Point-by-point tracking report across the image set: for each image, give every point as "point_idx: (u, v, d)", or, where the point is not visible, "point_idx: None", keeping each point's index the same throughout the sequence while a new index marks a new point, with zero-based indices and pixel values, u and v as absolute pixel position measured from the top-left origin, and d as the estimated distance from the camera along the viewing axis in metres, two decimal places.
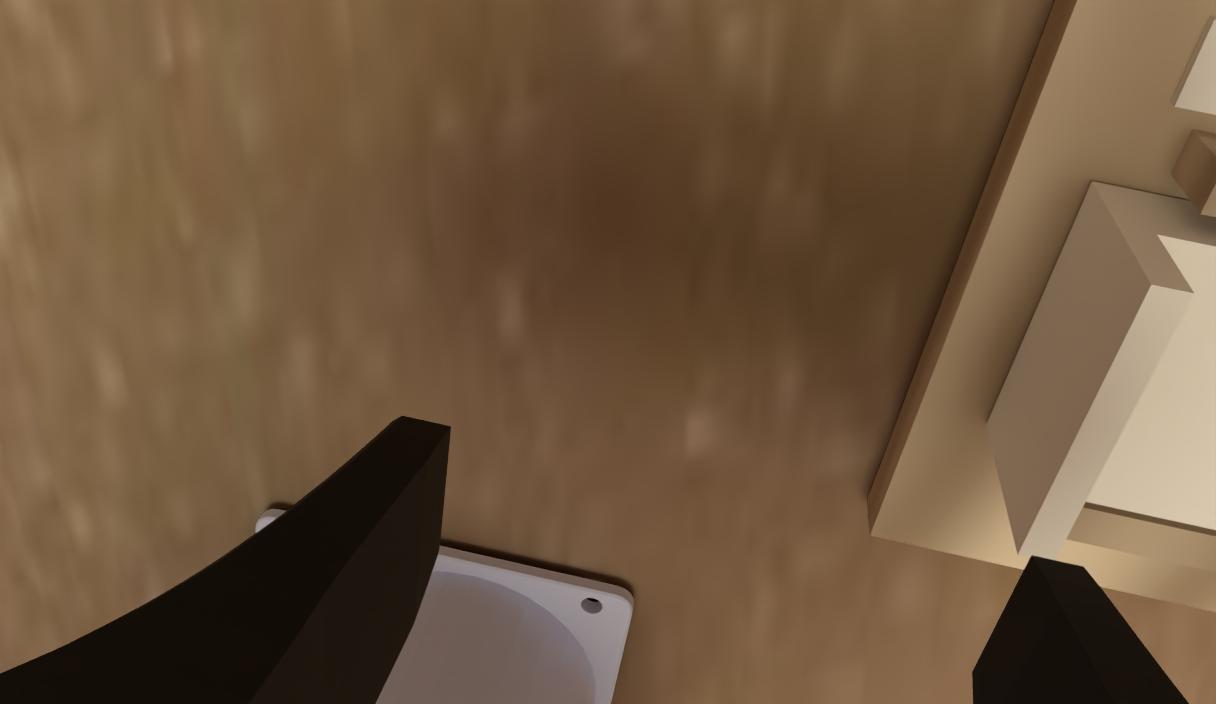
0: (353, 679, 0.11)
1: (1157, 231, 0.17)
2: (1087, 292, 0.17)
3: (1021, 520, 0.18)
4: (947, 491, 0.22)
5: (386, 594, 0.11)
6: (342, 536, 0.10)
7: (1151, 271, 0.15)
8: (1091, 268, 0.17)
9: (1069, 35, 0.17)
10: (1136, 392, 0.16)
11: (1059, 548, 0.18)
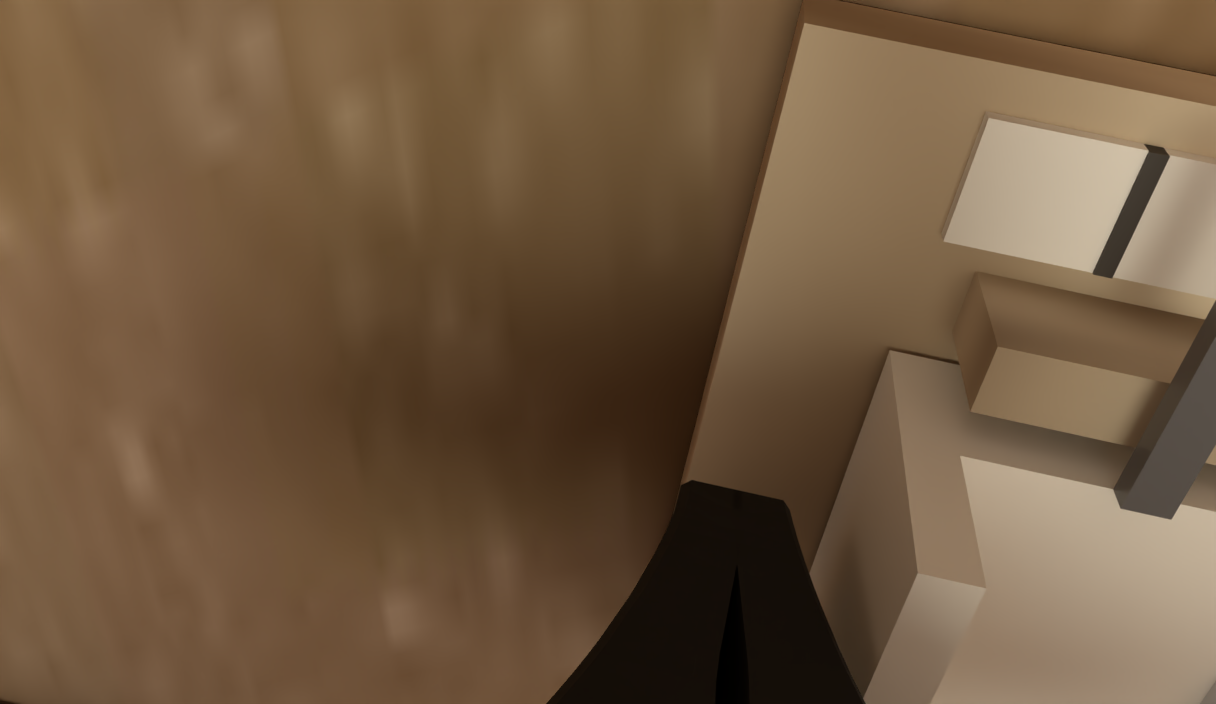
0: None
1: (962, 447, 0.11)
2: (867, 528, 0.12)
3: None
4: None
5: None
6: (703, 618, 0.10)
7: (925, 540, 0.10)
8: (874, 491, 0.12)
9: (784, 135, 0.11)
10: None
11: None
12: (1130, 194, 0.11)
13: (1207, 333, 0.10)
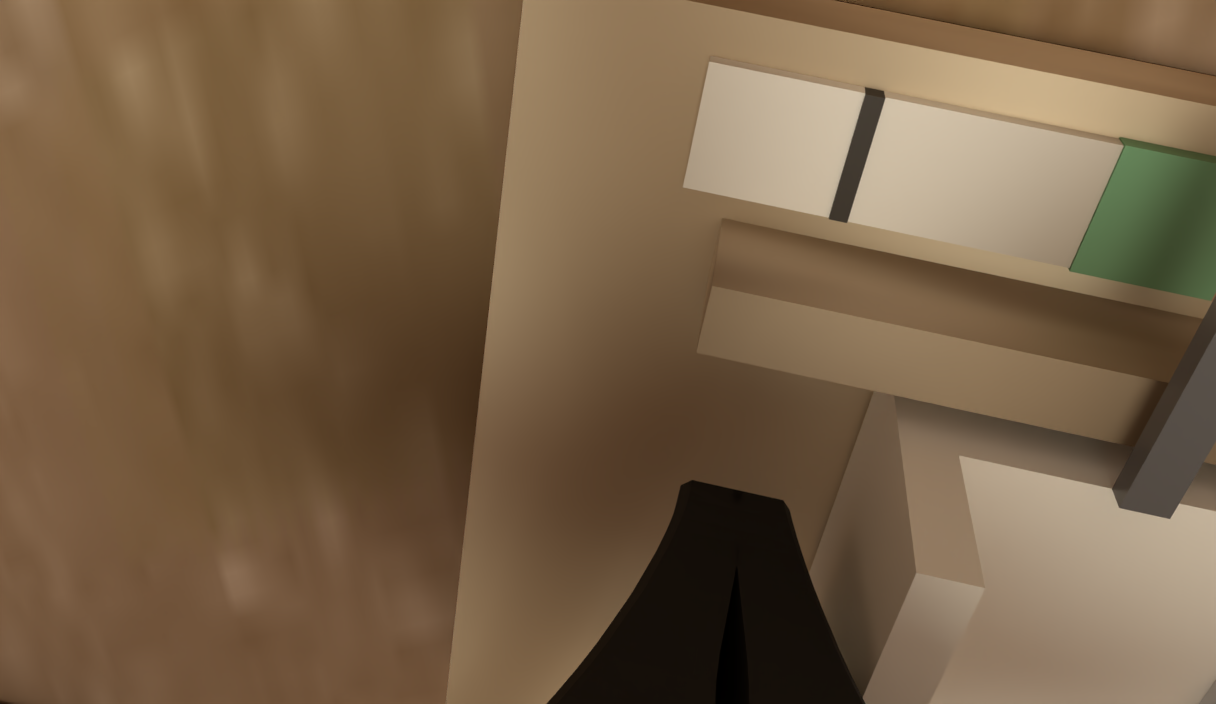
0: None
1: (961, 447, 0.11)
2: (867, 528, 0.12)
3: None
4: (523, 677, 0.17)
5: None
6: (703, 618, 0.10)
7: (923, 540, 0.10)
8: (873, 491, 0.12)
9: (523, 82, 0.12)
10: None
11: None
12: (853, 137, 0.11)
13: (1205, 333, 0.10)
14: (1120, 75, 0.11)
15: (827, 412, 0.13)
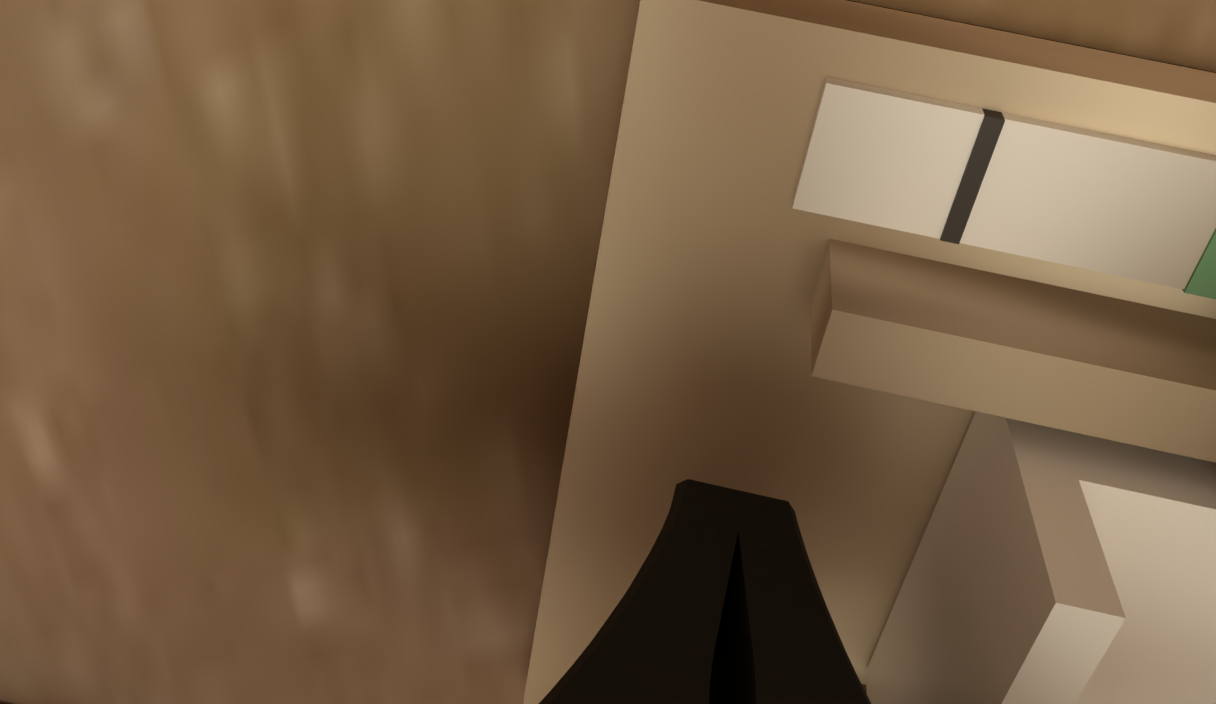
0: None
1: (1079, 472, 0.11)
2: (979, 551, 0.11)
3: None
4: None
5: None
6: (698, 617, 0.10)
7: (1058, 569, 0.10)
8: (985, 515, 0.12)
9: (632, 103, 0.11)
10: None
11: None
12: (970, 159, 0.11)
13: None
14: None
15: (926, 432, 0.13)
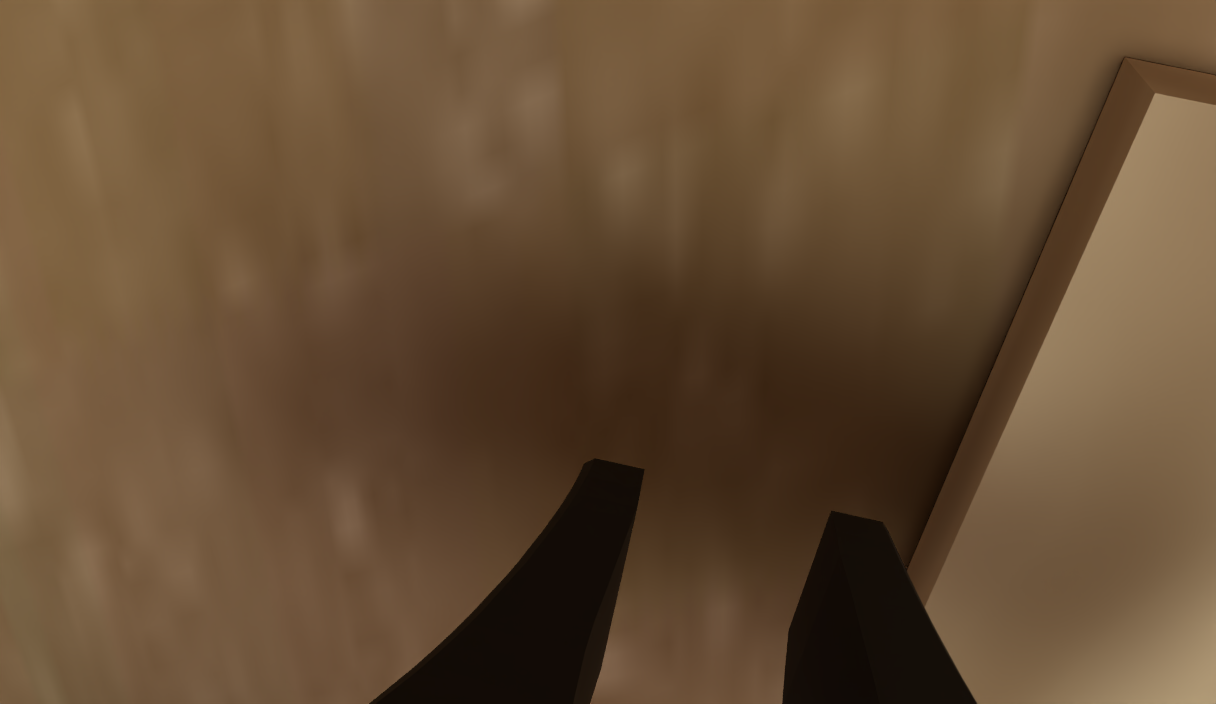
0: None
1: None
2: None
3: None
4: None
5: (599, 643, 0.11)
6: (582, 591, 0.10)
7: None
8: None
9: (1114, 203, 0.11)
10: None
11: None
12: None
13: None
14: None
15: None
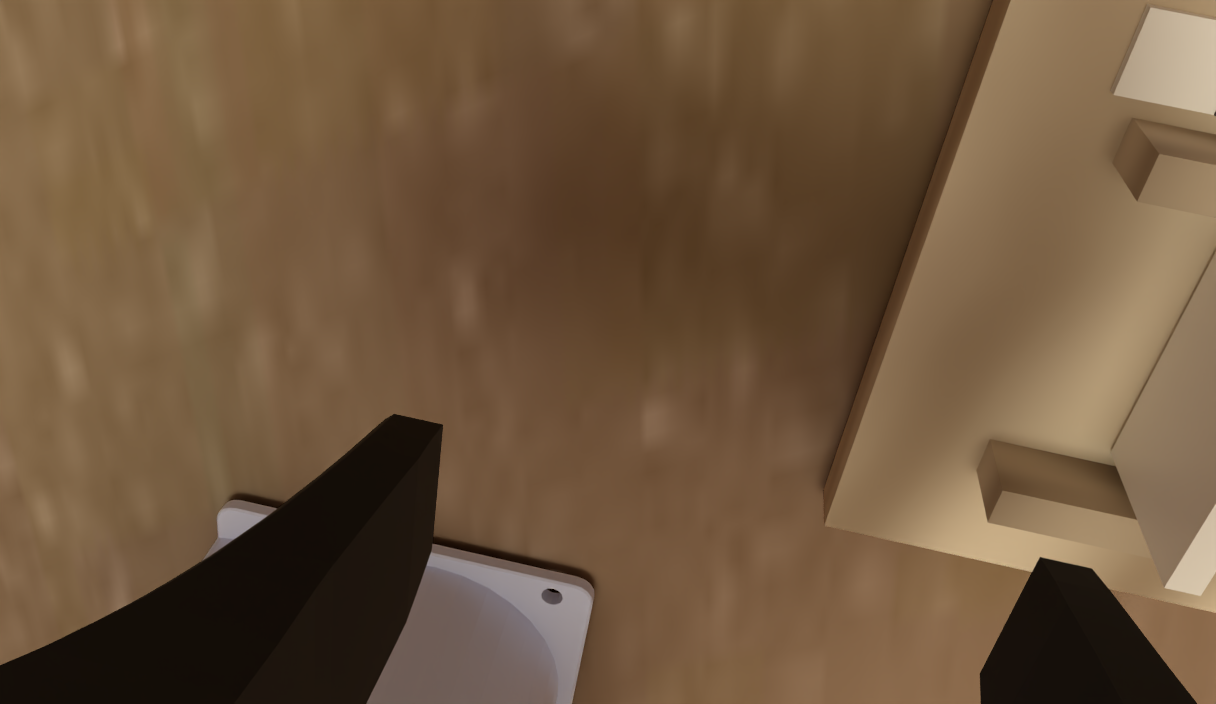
0: (344, 677, 0.11)
1: None
2: None
3: (1165, 552, 0.18)
4: (899, 481, 0.22)
5: (377, 592, 0.11)
6: (332, 534, 0.10)
7: None
8: None
9: (1008, 23, 0.17)
10: None
11: (1208, 582, 0.18)
12: None
13: None
14: None
15: (1181, 260, 0.19)
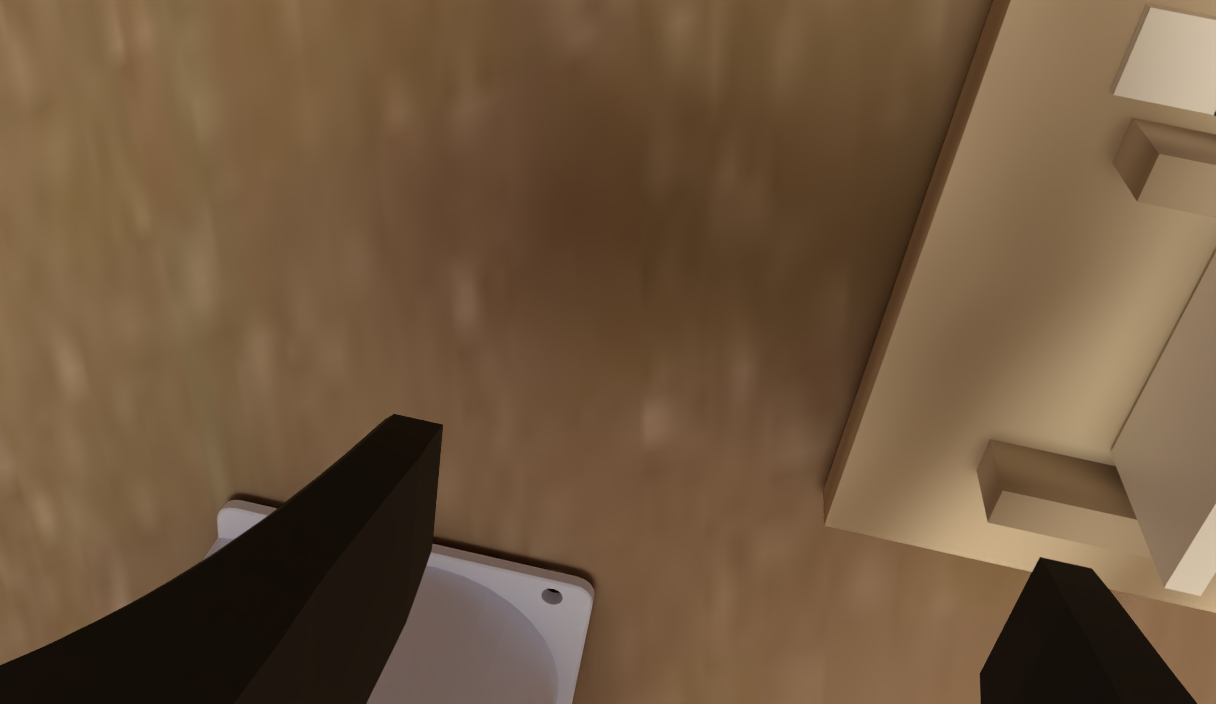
0: (344, 677, 0.11)
1: None
2: None
3: (1165, 552, 0.18)
4: (899, 481, 0.22)
5: (377, 592, 0.11)
6: (332, 534, 0.10)
7: None
8: None
9: (1008, 23, 0.17)
10: None
11: (1208, 582, 0.18)
12: None
13: None
14: None
15: (1181, 260, 0.19)
